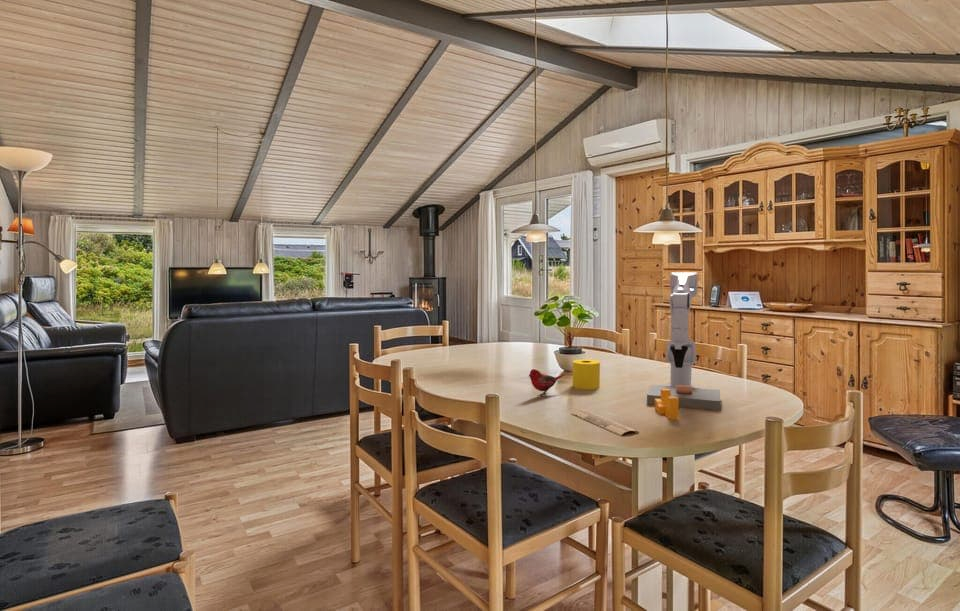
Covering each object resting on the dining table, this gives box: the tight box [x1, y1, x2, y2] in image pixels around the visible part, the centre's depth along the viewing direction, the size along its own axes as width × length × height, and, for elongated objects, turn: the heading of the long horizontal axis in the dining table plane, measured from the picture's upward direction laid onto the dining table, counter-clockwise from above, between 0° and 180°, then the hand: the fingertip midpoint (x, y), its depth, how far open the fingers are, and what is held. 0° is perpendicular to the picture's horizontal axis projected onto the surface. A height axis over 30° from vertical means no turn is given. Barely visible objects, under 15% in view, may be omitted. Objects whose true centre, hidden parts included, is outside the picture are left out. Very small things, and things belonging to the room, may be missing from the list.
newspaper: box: [571, 409, 640, 437], centre depth 155 cm, size 24×7×2 cm, turn 25°
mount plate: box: [646, 384, 721, 411], centre depth 178 cm, size 16×22×3 cm
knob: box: [676, 385, 693, 394], centre depth 178 cm, size 5×5×5 cm
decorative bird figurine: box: [528, 368, 565, 397], centre depth 189 cm, size 3×18×10 cm, turn 127°
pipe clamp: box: [654, 389, 680, 420], centre depth 164 cm, size 12×4×6 cm, turn 173°
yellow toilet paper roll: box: [572, 358, 601, 390], centre depth 201 cm, size 10×10×9 cm
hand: (678, 367), depth 183 cm, fingers closed
